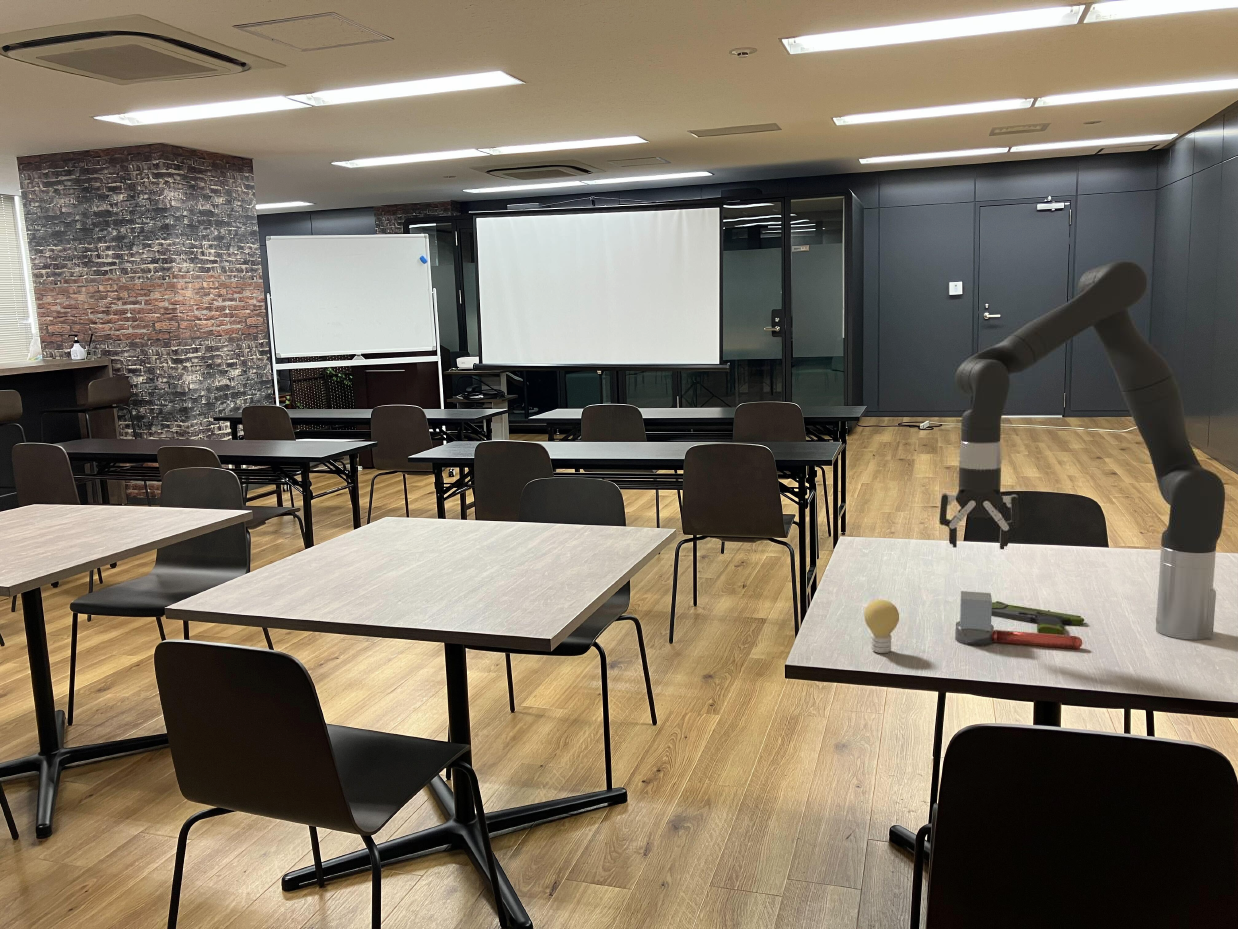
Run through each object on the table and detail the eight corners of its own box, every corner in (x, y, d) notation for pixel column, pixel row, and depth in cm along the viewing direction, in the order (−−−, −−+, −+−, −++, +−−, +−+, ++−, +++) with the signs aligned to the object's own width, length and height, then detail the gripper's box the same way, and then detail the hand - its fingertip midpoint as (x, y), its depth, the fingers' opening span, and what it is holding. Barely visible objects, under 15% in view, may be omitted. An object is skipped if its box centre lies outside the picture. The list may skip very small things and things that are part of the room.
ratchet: (1079, 643, 183) (1081, 605, 182) (1084, 655, 177) (1086, 616, 175) (955, 633, 190) (956, 597, 189) (955, 644, 184) (956, 607, 183)
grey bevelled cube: (989, 622, 187) (990, 593, 186) (990, 631, 182) (992, 600, 181) (959, 620, 189) (960, 591, 188) (960, 628, 184) (961, 598, 183)
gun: (967, 625, 197) (992, 609, 208) (1064, 642, 185) (1086, 624, 196) (967, 613, 197) (993, 598, 208) (1064, 629, 184) (1086, 612, 196)
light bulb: (892, 645, 184) (893, 595, 183) (903, 656, 178) (904, 605, 177) (859, 646, 184) (860, 596, 183) (869, 657, 178) (870, 606, 176)
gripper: (1018, 462, 182) (1016, 545, 184) (940, 461, 186) (938, 541, 189) (1022, 468, 175) (1019, 554, 177) (940, 466, 179) (938, 550, 182)
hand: (977, 547), depth 183 cm, fingers open, 8 cm apart
